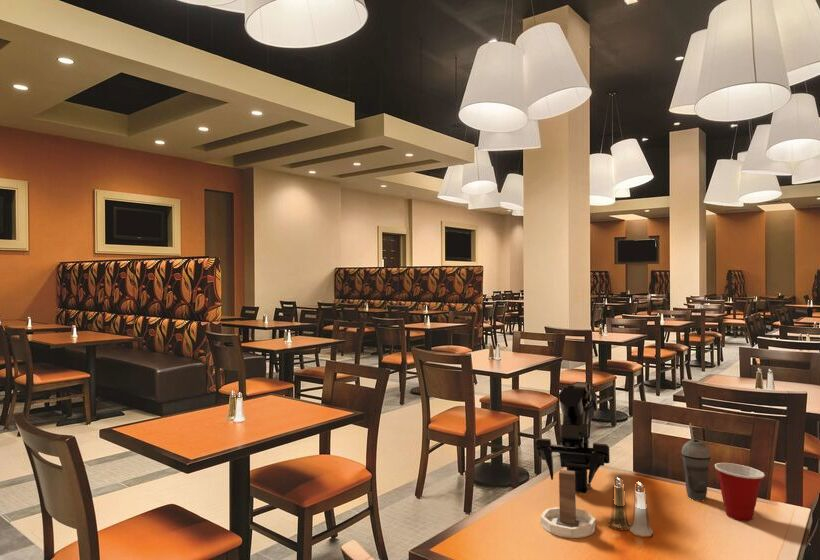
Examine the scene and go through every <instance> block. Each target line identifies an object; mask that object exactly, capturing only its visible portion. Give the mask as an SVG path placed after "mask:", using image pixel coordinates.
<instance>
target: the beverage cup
mask: <svg viewBox="0 0 820 560" xmlns="http://www.w3.org/2000/svg"><path fill="white" fill-rule="evenodd" d="M689 429H690V430H689V431H690V436H691V439H689V440H688V441H686V442H685V443H684V444H683V445H682V448H681V453H680V455H681V460H682V462H683V463H682V464H683V470H684V472H683V473H684V479H685V480H684V481H685V482H684V483H685V488H686V489H685V490H686V494H687V495H686V496H688V497H689V498H691V499H690V500H692V499H693V501H696V500H699V501H698V502H703V500H704V501H706V500H707V495H708V483H709V482H708V480H709V469H710V467H709V466H710V463H711V458H712V456H711V451H710V449H709V447H708V446H707V445H706V444H705V443H704V442H703V441H700V440H699V439H694V432H693V426H692V423H689ZM688 497H687V498H688ZM689 498H688V499H689ZM705 499H706V500H705Z"/></svg>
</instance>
